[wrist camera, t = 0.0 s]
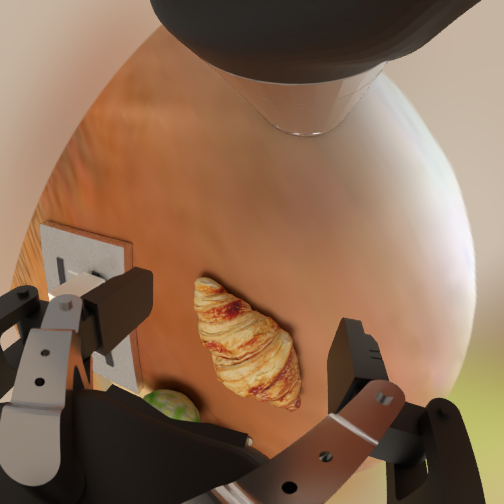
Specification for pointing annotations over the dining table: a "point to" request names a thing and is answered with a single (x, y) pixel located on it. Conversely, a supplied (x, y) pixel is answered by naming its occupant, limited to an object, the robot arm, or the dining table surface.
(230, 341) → the croissant
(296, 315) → the dining table surface
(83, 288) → the cream fader
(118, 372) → the fader panel
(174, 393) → the decorative ball
